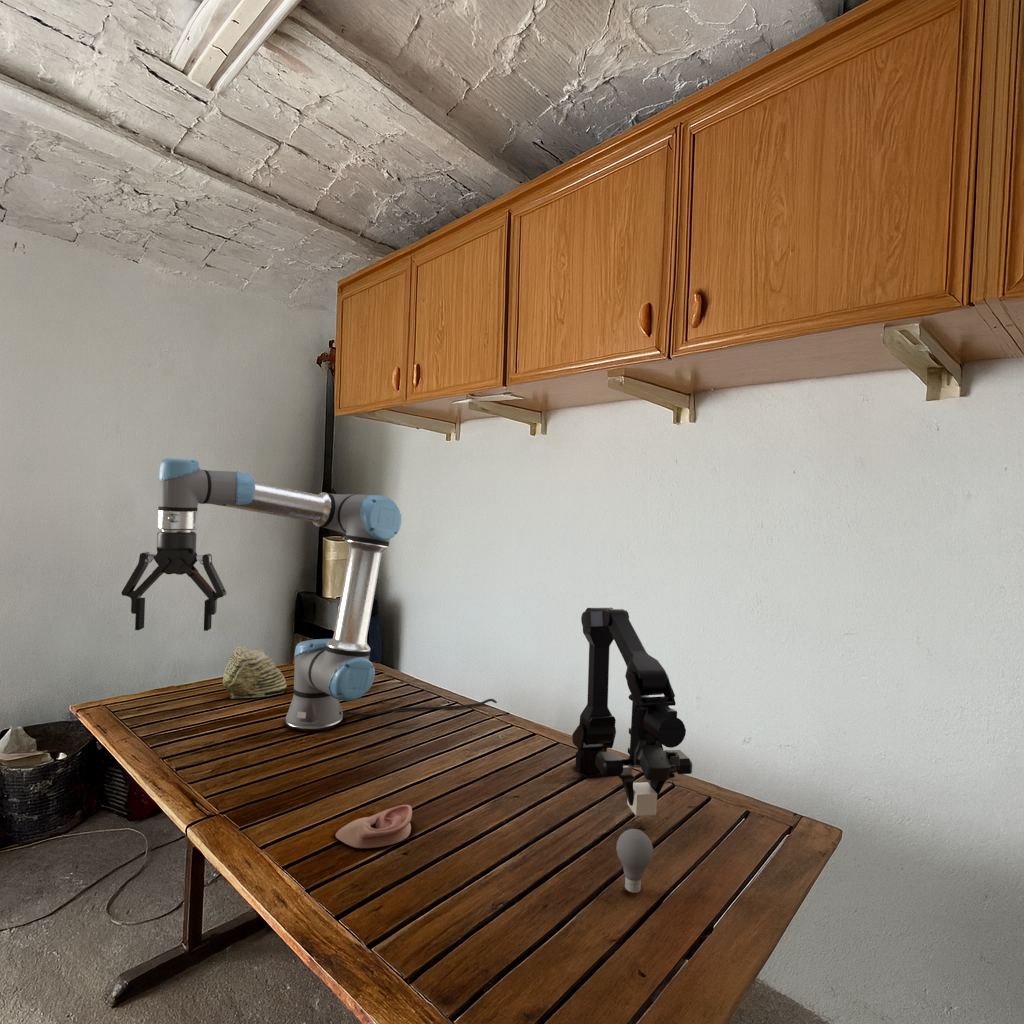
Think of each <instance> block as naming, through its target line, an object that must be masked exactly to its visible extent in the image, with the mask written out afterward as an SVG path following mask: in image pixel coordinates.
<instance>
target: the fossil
mask: <svg viewBox="0 0 1024 1024" xmlns="http://www.w3.org/2000/svg"><path fill="white" fill-rule="evenodd" d="M222 676H223V677H222V685H223V687H224V688H225V690H226V691H228V693H229V698H230V699H250V698H264V697H271V696H275V695H281V694H284V693H285V691H286V689H287V687H288V686H287V680H286V678H285V676H284V674H283V673H282V672H281V669H279V668H278V667H277V665H276V663H275V662H274V660H273V659H272V658H271V657H270V656H269V655H268V654H267V653H266V652H265V650H264V649H263V648H260V647H258V648H251V647H247V646H246V647H245V646H238V647H237V648H236V649H235V650H233V651H232V653H231V656H230V657H229V659H228V660H227V663H226V666H225V668H224V671H223V675H222Z"/></svg>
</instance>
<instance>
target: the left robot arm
mask: <svg viewBox="0 0 1024 1024" xmlns="http://www.w3.org/2000/svg"><path fill="white" fill-rule="evenodd" d="M159 463H160V464H159V471H158V478H157V482H158V505H157V506H158V510H157V525H156V526H157V529H158V530H160V531H158V532H157V533H156V552H155V553H150V552H149V551H145V552H141V553H140V554H139V557H138V563H137V565H136V566H135V568H134V569H133V572H132V573H131V575H130V577H129V578H128V580H127V582H126V584H125V586H124V587H123V589H122V590H121V595H122V597H128V598H130V601H131V602H130V612H131V615H135V617H134V619H135V622H134V631H140V630H142V629H144V628H145V617H146V616H145V613H146V612H145V611H146V609H145V608H146V597H142V596H143V594H144V593H145V592H146V591H148V590H149V588H151V586H152V585H153V584H154V583H155V582H156V581H157V580H159V578H160V577H161V576H162V575H164V574H166V575H178V576H179V575H181V576H182V575H185V574H186V575H187V577H189V578H190V579H191V580H192V581H193V582H194V583H195V585H196V586H197V587H198V589H200V590H201V592H202V593H203V594H204V595H205V597H207V599H205V600H204V607H203V608H204V610H203V611H204V612H203V614H204V615H203V632H208V631H209V630H211V629H212V617H213V615H215V614H216V613H217V610H218V599H220V598H223V597H225V596H226V595H227V590H226V588H225V586H224V584H223V582H222V580H221V577H220V576H219V574H218V572H217V570H216V568H215V566H214V564H213V555H212V554H211V553H206V554H198V553H197V533H196V530H197V529H198V509H199V508H198V506H199V504H200V505H206V504H207V505H214V506H219V507H221V506H222V507H228V508H233V509H238V510H245V511H249V512H256V513H261V514H267V515H272V516H277V517H284V518H288V519H293V520H294V519H295V520H300V521H305V522H312V523H313V525H314V526H315V527H318V528H325V529H328V530H332V531H334V532H338V533H340V534H344V535H345V537H344V542H345V544H346V545H347V547H348V550H349V551H348V555H347V559H346V560H347V561H346V564H345V565H346V566H345V571H344V576H343V583H342V586H341V587H342V588H341V593H340V599H339V605H338V608H337V609H338V610H337V615H336V620H335V625H334V626H335V627H334V631H333V637H332V638H319V639H308V640H303V641H300V642H299V643H298V642H297V644H296V646H295V650H294V655H293V657H294V672H293V695H292V696H293V697H292V699H291V702H290V704H289V708H288V711H287V713H286V715H285V726H286V728H287V729H289V730H291V731H294V732H295V731H296V732H301V733H316V732H325V731H329V730H332V729H335V728H337V727H339V726H340V725H342V723H343V722H344V715H352V716H362V717H372V716H374V717H375V716H378V715H383V714H387V713H391V712H400V711H401V712H402V711H416V710H418V711H419V710H448V709H462V708H472V707H477V706H482V705H485V704H487V703H489V702H493V703H494V704H498V702H497V700H495V699H494V698H487V699H485V700H483V701H481V702H476V703H468V704H460V705H459V704H458V705H442V706H441V705H440V706H439V705H438V706H412V707H410V706H409V707H396V708H388V709H384V710H380V711H376V712H359V711H358V712H357V711H343V709H342V706H341V702H340V701H344V702H353V701H357V700H358V699H360V698H362V697H363V696H364V695H365V694H366V693H367V692H368V691H369V690H370V689H371V688H372V685H373V683H374V681H375V677H376V671H375V670H376V669H375V666H374V665H373V662H371V661H370V655H371V647H370V646H369V644H368V643H367V638H368V633H369V627H370V623H371V616H372V611H373V604H374V599H375V595H376V594H375V593H376V588H377V581H378V577H379V571H380V565H381V560H382V555H383V553H384V552H385V551H386V550H388V549H389V547H390V546H389V545H390V540H391V539H393V538H394V537H395V536H396V535H397V534H398V533H399V532H400V530H401V526H402V513H401V510H400V508H399V507H398V505H397V503H396V502H395V501H394V500H393V499H391V498H390V497H387V496H384V495H380V494H361V493H360V494H358V493H349V494H347V493H346V494H345V493H344V494H341V493H340V494H339V493H329V492H324V491H323V492H322V491H321V492H319V493H318V494H316V493H312V492H306V491H302V490H296V489H293V488H288V487H283V486H277V485H273V484H268V483H263V482H259V481H255V479H254V477H253V475H251V474H250V473H249V472H241V471H229V470H207V469H201V468H200V463H199V461H198V460H196V459H188V458H187V459H185V458H164V459H162V460H161V461H160V462H159ZM153 560H154V561H155V563H156V564H157V566H156V568H154V570H153V571H152V572H151V574H149V575H148V576H147V578H146V579H145V580H144V581H142V583H141V584H140V585H139V586H138V583H139V581H140V580H141V578H142V577H143V575H144V573H145V571H146V570H147V568H148V566H149V564H150V563H152V562H153ZM198 561H199V563H200V564H201V565H202V566H203V569H204V571H205V573H206V575H207V577H208V579H209V581H210V583H211V585H212V586H211V585H210V584H209V582H207V580H206V579H205V578H204V576H202V574H201V573H200V572H199V570H198V569H197V568H196V566H195V565H196V563H197V562H198ZM136 587H137V588H136ZM135 588H136V589H135Z"/></svg>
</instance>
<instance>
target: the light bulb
mask: <svg viewBox="0 0 1024 1024" xmlns="http://www.w3.org/2000/svg"><path fill="white" fill-rule="evenodd" d="M615 849H616V854H617V857H618V859H619V861H620V863H621V865H622V867H623V873H624V874H623V875H624V876H625V878H624V888H625V890H627V891H628V892H630V893H634V894H635V893H639V892H640V891H641V889H642V887H641V886H642V879H643V877H644V875H645V871H646V868H647V867H648V866H649V864H650V863H651V861H652V859H653V855H654V847H653V843H652V841H651V838H649V836H648V835H647V834H646V833H645V832H643V831H642V830H641V829H636V828H629V829H627V830H625V831H623V832H622V833H621V834H620V835H619V837H618V839H617V841H616V847H615Z"/></svg>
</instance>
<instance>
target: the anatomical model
mask: <svg viewBox="0 0 1024 1024" xmlns="http://www.w3.org/2000/svg"><path fill="white" fill-rule="evenodd" d="M412 817H413V808H412V806H411V805H410V804H401V805H396V806H393V807H390V808H388V809H385V810H382V811H380V812H378V813H375V814H373V815H370V816H364V817H361V818H357V819H355V820H352V821H350V822H349V823H346V824H345V825H344V826H342V827H341V828H340V829H338V830H337V832H335V838H336V839H337V840H338V841H341V842H342V843H344V844H345V845H348V846H349V847H352V848H355V849H372V848H373V849H374V848H381V847H388V846H391V845H395V844H397V843H400V842H402V841H404V840H405V839H408V837H409V836H410V834H411V831H412V824H411V821H412Z"/></svg>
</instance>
